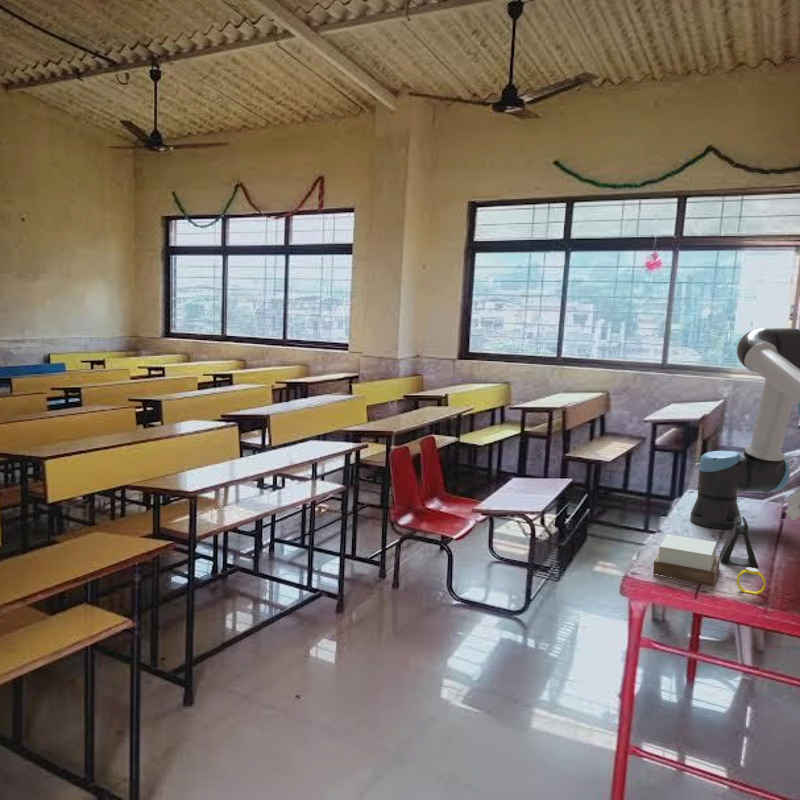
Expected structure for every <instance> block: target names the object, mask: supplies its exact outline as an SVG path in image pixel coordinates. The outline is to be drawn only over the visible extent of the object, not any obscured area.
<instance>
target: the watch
mask: <svg viewBox="0 0 800 800" xmlns="http://www.w3.org/2000/svg"><path fill="white" fill-rule="evenodd" d="M745 573H748V574H752V575H758V576H759V577H760V578H761V580H762V581H763V586H762V587H761V589H759V590H757V591H752V590H750V589H749V590H748V589H744V587H742V586H741V584H740V577H742V575H744V574H745ZM736 584H737V587H738V589H739V590H740V591H741V592H742V593H745V594H751V595H756V596H758V595H760V594H762V593H763V592H764V590H765V589H766V579H765V576H764V575H763V574H762V573H761V572H760V570H759V569H758V568H752V567H746V568H745V569H743V570H741V571H740V572H739V573H738V574H737V578H736Z"/></svg>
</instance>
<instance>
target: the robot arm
mask: <svg viewBox="0 0 800 800" xmlns="http://www.w3.org/2000/svg"><path fill="white" fill-rule="evenodd" d="M737 343H738V344H737V347H736V355H737V358H738V360H739V362H740V363H741V365H742V366H744V367H745V368H746V369H747V370H748V371H749V372H751V373H752V372H753V373H757V374H759V375H760V376H761V377H762V378H764V379H765V381H764V386H763V390H762V394H761V400H760V403H759V408H758V412H757V417H756V420H755V421H756V422H755V427H754V429H753V435H752V439H751V443H750V444H749V445H747V446H745V448H744V451H743V455H741V454H740V453H739V452H738V451H734V450H714V451H713V450H712V451H708V452H705V453H703V454H702V455H701V457H700V458H699V459H700V460H699V466H698V485H697V497H696V500H695V502H694V504H693V507H692V509H691V512H690V516H689V517H690V518H689V520H690V521H691V522H692V523H694V524H696V525H699V526H703V527H706V528H712V529H720V530H732V529H733V527H734V519H735V518H736V517H737V516H739V519H740V522H741V523H739V524H738V525H737V526H739V527H740V526H742V522H743V519H742V515H741V512H740V509H739V505H738V493H741V492H742V493H746V492H747V493H748V492H749V493H771V492H779V491H780V490H782V489H783V488H785V487H786V486H787V484H788V483H789V479H790V477H791V476H790V475H791V470H790V469H789V468H790V465H789V462H788V460H787V459H786V454H784V453H783V451H782V448H783V445H784V440H785V436H786V432H787V427H788V423H789V419H790V415H791V411H792V406H793V403H794V404H795V405H796V406H797V414H798V415H799V416H800V328H796V327H795V328H794V327H793V328H788V327H787V328H781V327H780V328H770V327H769V328H768V327H761V328H755V329H752V330H750V331H748V332H747V333H745V334H743V336H742V337H741V338H740V340H739V342H737ZM785 502H786V503H787V504H788V505H789V506H790V508H788V509H787V510H785V514H786V515H787V516H788V517H790V518H791V520H792V521H796V520H797V519H799V518H800V490H798V491H797V492H795V493H794V494H793V495H791V496H790V497H788V498H787V499H785Z"/></svg>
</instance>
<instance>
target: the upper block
mask: <svg viewBox="0 0 800 800" xmlns="http://www.w3.org/2000/svg"><path fill="white" fill-rule="evenodd" d="M658 550H659V551H658V554H659V562H664V563H669V564H675V565H680V566H685V567H691V568H696V569H702V570H707V571H711V568H712V565H713V562H714V560H715V555H716V553H717V541H713V540H712V541H711V540H707V539H706V540H705V539H699V538H693V537H687V536H680V535H676V534H675V535H674V534H669V533H667V534H666V535H665V537H664V539H663V540H662V542H661V544H660V545H659V549H658ZM716 556H717V555H716Z"/></svg>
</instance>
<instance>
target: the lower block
mask: <svg viewBox="0 0 800 800" xmlns="http://www.w3.org/2000/svg"><path fill="white" fill-rule="evenodd" d="M720 563H721V562H720V556H719V555H715V560H714V562H713V565H712V568H711V571H707V570H702V569H696V568H691V567H685V566H680V565H675V564H669V563H664V562H659V553H658V554H657V555H656V557H655V559H654V561H653V573H652V575H653V574H658V575H663V576H667V577H666V578H668V577H672V578H671V579H673V578H676V579H675V580H678V579H680V580H679V581H683V580H684V582H688V581H689V583H693V582H694V583H695V584H698V583H699V585H705V586H709V587H714V586H715V583H716V581H715V580H717V578H718V574H719V571H720Z"/></svg>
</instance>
